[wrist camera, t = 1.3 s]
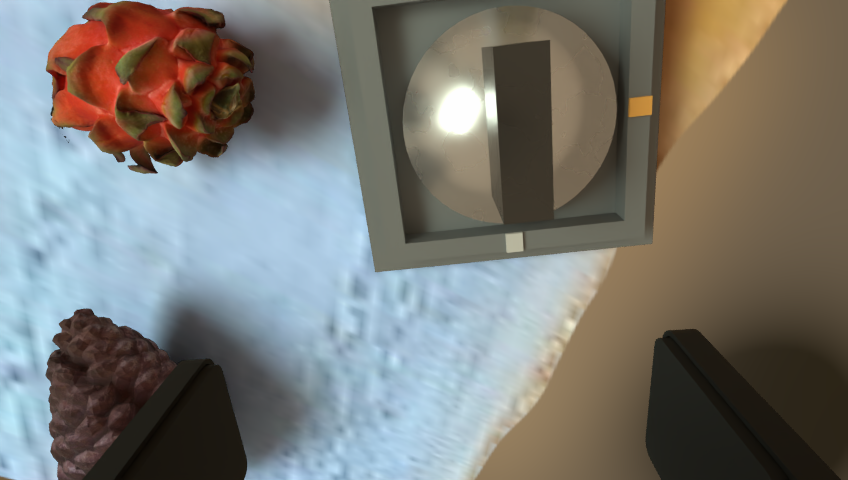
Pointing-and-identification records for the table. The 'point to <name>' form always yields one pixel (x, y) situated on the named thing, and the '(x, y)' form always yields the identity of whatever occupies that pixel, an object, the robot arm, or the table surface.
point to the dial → (509, 114)
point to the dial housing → (449, 230)
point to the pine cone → (97, 387)
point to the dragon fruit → (151, 82)
